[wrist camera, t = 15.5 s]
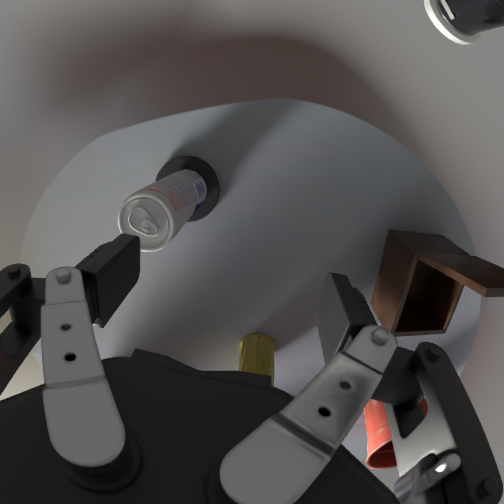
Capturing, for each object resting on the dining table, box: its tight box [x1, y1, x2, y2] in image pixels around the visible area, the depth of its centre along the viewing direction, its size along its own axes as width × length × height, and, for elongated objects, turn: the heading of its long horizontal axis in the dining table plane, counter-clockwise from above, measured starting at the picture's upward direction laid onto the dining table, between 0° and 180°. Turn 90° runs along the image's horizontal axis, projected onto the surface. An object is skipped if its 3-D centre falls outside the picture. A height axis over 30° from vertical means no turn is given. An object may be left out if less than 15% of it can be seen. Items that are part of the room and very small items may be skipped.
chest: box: [371, 230, 470, 337], centre depth 37 cm, size 13×11×9 cm
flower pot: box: [363, 398, 428, 469], centre depth 45 cm, size 16×16×16 cm
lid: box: [416, 251, 504, 297], centre depth 24 cm, size 13×11×1 cm
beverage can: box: [118, 169, 207, 252], centre depth 31 cm, size 6×6×15 cm
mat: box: [155, 156, 219, 222], centre depth 38 cm, size 9×9×1 cm
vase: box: [239, 334, 275, 387], centre depth 42 cm, size 6×6×14 cm
